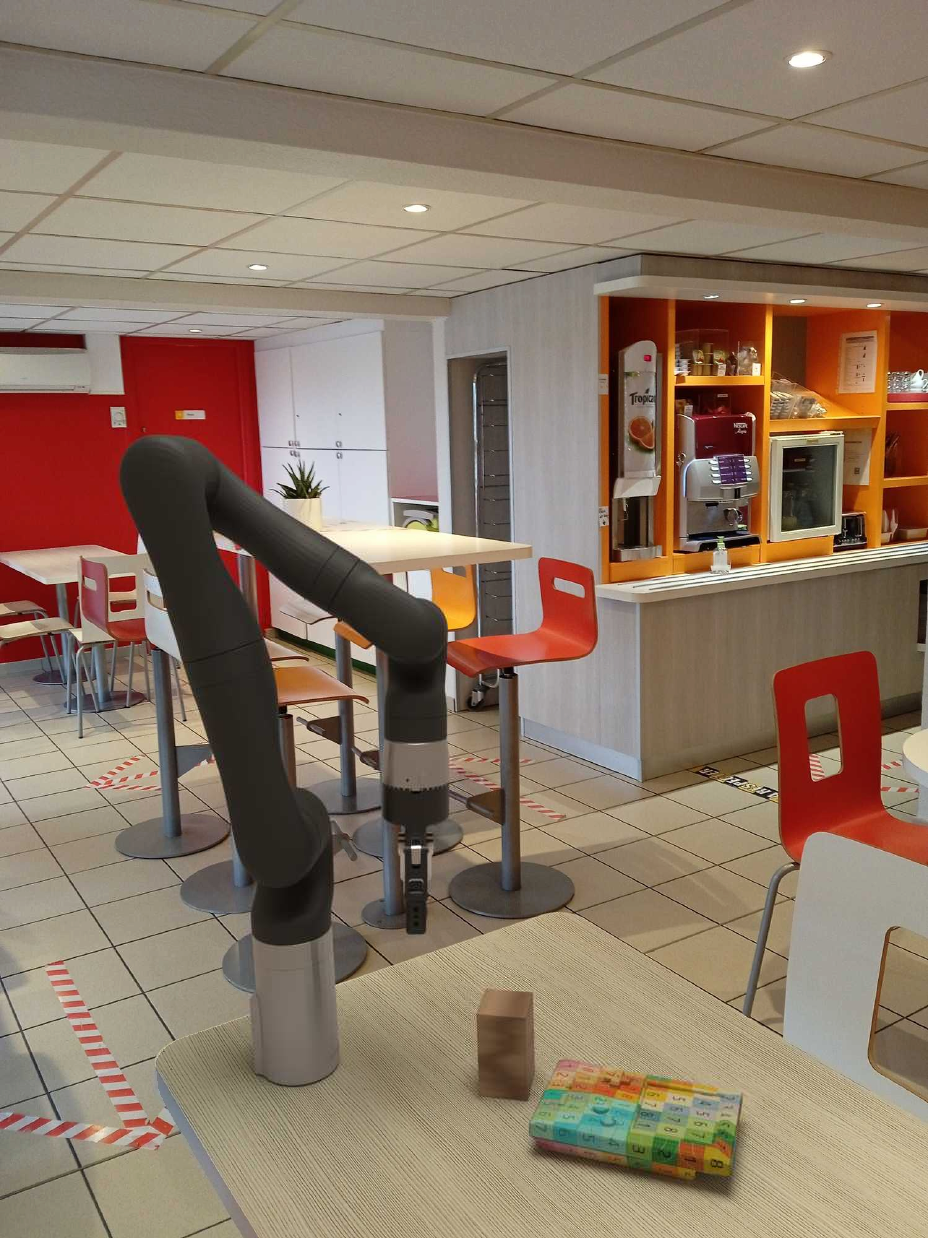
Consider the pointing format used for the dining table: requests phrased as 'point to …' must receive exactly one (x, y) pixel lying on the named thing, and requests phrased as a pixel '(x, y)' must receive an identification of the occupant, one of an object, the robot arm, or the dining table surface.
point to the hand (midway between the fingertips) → (415, 919)
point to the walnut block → (505, 1044)
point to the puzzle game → (638, 1120)
